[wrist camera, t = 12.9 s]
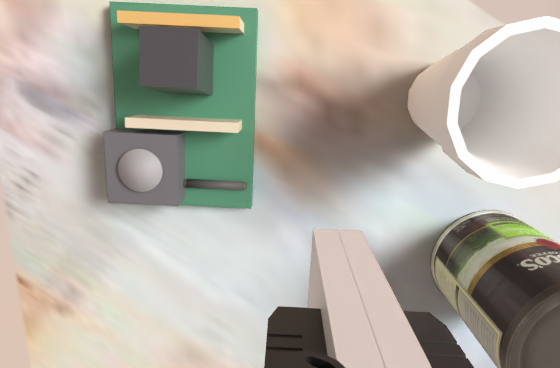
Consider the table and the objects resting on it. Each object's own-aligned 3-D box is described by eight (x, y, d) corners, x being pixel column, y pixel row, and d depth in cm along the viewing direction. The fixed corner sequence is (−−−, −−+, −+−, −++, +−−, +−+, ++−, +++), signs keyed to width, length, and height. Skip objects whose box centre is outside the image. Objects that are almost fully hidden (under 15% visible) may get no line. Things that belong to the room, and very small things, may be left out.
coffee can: (444, 201, 37) (537, 269, 23) (551, 219, 37) (705, 297, 24) (417, 299, 40) (486, 412, 26) (518, 315, 40) (639, 436, 26)
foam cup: (458, 169, 36) (550, 214, 24) (370, 124, 35) (416, 145, 23) (519, 73, 34) (654, 66, 22) (426, 22, 33) (511, -17, 21)
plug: (212, 95, 33) (196, 88, 28) (165, 93, 34) (139, 85, 28) (213, 45, 33) (198, 27, 27) (165, 43, 33) (139, 24, 27)
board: (252, 204, 37) (247, 221, 33) (125, 198, 37) (102, 214, 33) (257, 11, 33) (253, -1, 29) (115, 4, 33) (88, -9, 29)
